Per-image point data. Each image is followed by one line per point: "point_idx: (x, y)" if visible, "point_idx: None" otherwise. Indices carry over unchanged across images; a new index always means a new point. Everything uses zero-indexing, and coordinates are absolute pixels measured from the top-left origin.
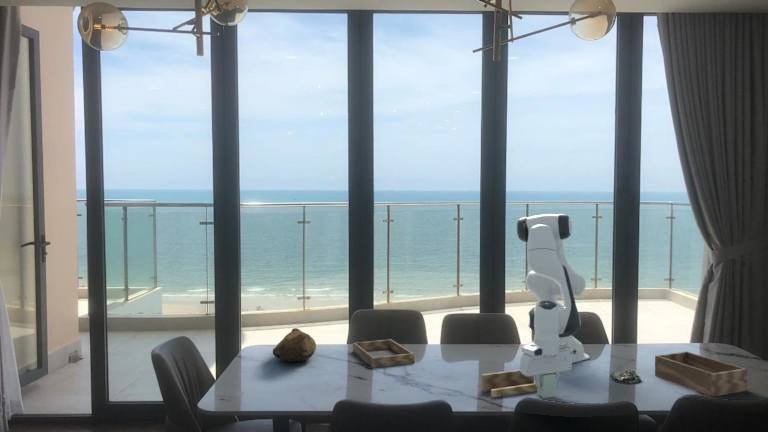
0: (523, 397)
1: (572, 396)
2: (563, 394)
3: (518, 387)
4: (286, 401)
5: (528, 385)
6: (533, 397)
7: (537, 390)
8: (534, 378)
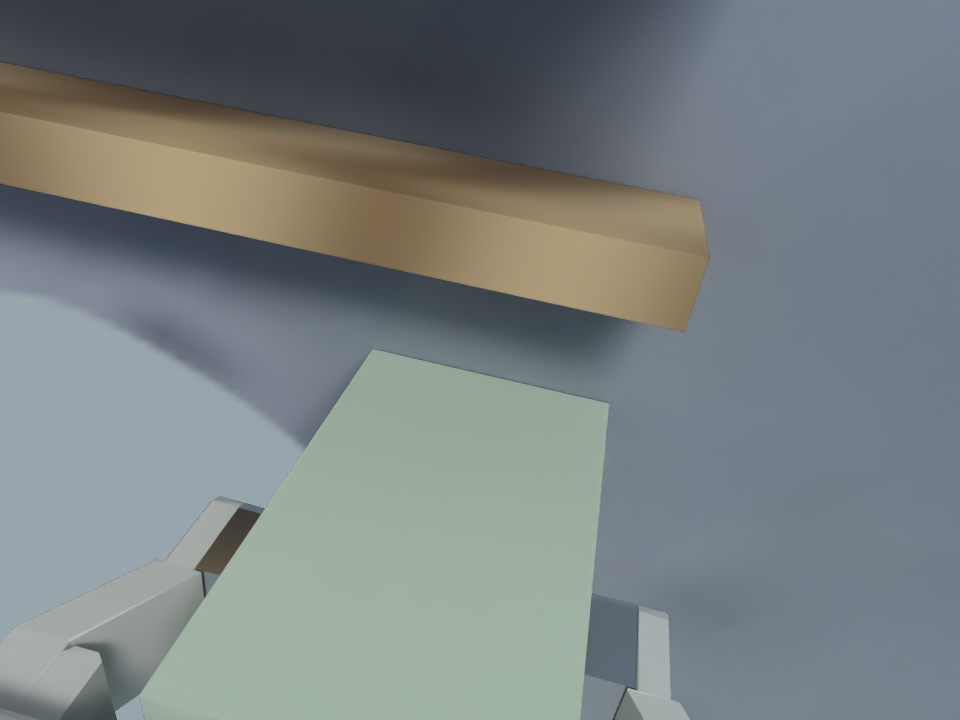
0: (101, 314)
1: (774, 663)
2: (746, 566)
3: (5, 178)
4: None
5: (244, 232)
6: (241, 394)
7: (344, 398)
8: (76, 616)
